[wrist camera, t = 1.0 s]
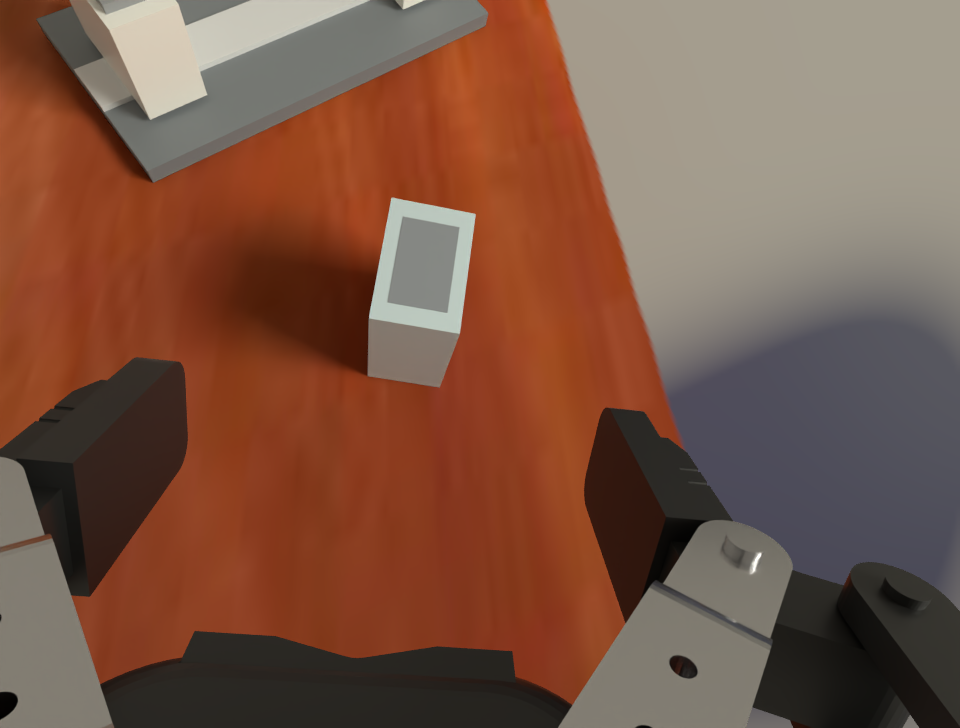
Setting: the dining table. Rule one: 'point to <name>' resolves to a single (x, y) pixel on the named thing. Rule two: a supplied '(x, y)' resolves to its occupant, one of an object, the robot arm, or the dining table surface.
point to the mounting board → (260, 66)
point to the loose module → (419, 292)
